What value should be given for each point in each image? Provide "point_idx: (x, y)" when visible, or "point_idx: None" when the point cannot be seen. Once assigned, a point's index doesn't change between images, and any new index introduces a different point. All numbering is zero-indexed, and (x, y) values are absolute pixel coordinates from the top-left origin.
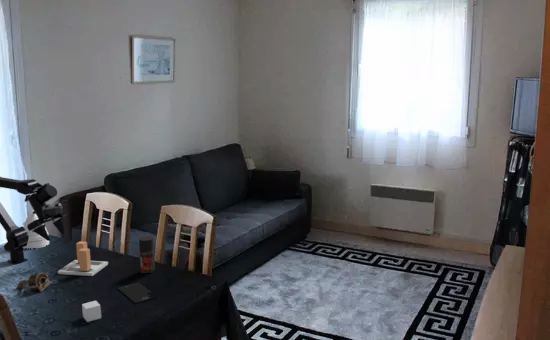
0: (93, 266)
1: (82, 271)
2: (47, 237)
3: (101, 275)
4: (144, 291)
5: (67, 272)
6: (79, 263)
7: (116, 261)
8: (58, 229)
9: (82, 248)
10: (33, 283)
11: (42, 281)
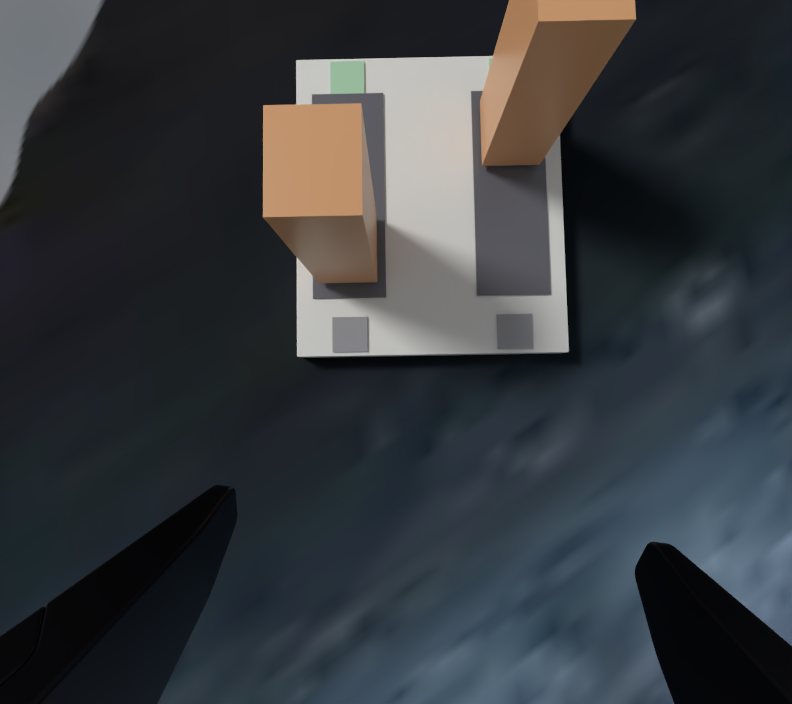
0: (416, 120)
1: None
2: (728, 606)
3: None
4: None
5: (562, 267)
6: (563, 128)
7: (230, 43)
8: (160, 686)
9: (545, 11)
10: None
11: None
